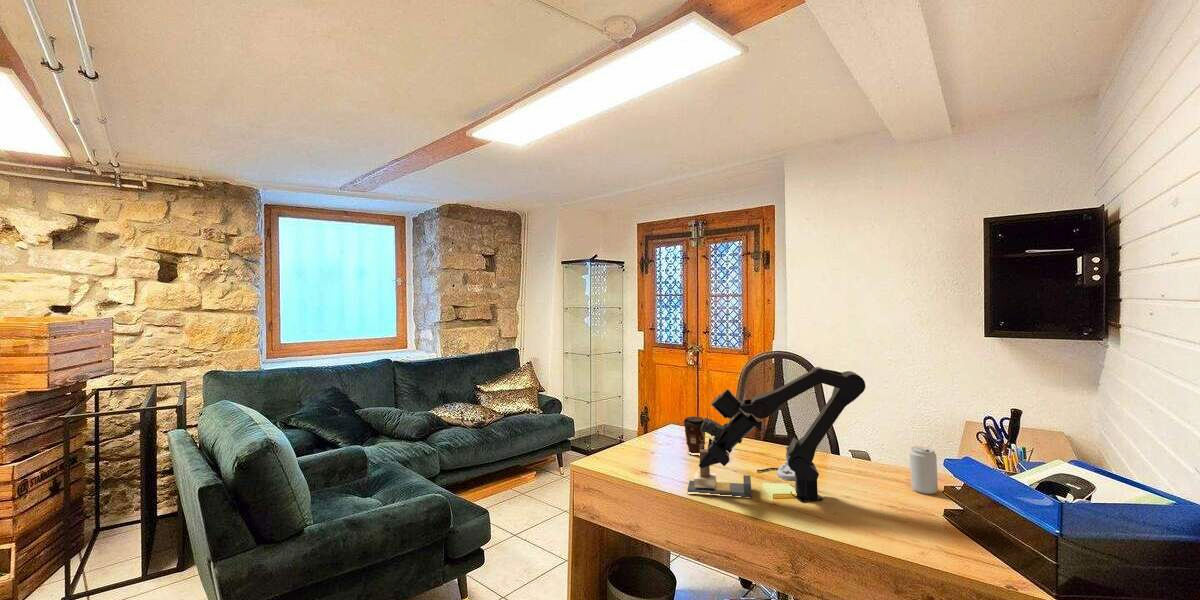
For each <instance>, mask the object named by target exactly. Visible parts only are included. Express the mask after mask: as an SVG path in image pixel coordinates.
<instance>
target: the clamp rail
mask: <svg viewBox="0 0 1200 600" xmlns="http://www.w3.org/2000/svg"><path fill="white" fill-rule="evenodd" d="M751 479H752V478H751V475H745V474H744V475H743V483H740V482H739V483H737V482H724V481H723V482H721V481H720V482H719V481H716V488H715V489H714V488H698V487H695V486H694V480H689V481H688V485H687V493H688V492H699V493H710V494H720V495H732V496H741V497H750V498H749V499H753V498H752V480H751Z"/></svg>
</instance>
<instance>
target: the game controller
mask: <svg viewBox="0 0 1200 600" xmlns="http://www.w3.org/2000/svg"><path fill="white" fill-rule="evenodd" d="M769 469H771V470H775V469H776V470H777V471H776V477H777V476H778V477H779V478H778V477H777V478H778V479H780V478H782V479H781V480H784V479H786V480H785V481H795V472H794V471H792V470H791V469H790V467H789V465H788V462H787V461H784V462H782V463H781V465H780V466H779V467H768V468H763V469H757V470H756V472H757V471H762V472H765V470H766V471H770V470H769Z"/></svg>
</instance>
